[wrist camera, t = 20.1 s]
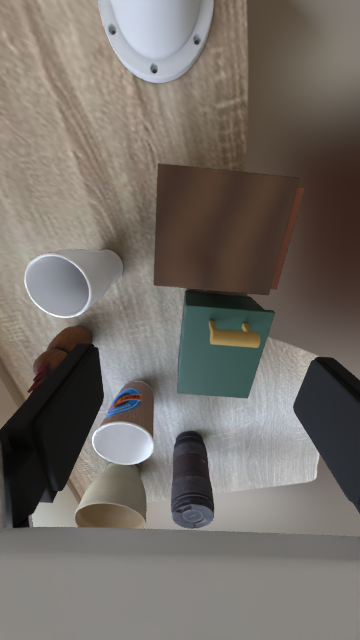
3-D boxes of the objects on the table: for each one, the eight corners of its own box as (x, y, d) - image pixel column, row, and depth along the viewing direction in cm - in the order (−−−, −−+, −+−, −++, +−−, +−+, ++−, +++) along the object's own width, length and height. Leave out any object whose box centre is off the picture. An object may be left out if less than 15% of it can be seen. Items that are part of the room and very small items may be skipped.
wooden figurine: (85, 356, 41) (36, 418, 27) (59, 340, 40) (-7, 397, 26) (102, 333, 39) (59, 387, 25) (75, 315, 37) (13, 363, 24)
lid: (186, 303, 27) (187, 321, 22) (272, 310, 27) (292, 329, 22) (177, 389, 33) (176, 418, 29) (246, 394, 34) (257, 423, 29)
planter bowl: (87, 451, 52) (65, 503, 42) (149, 451, 52) (142, 503, 42) (98, 488, 59) (81, 541, 49) (154, 488, 58) (148, 541, 48)
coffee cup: (149, 368, 42) (138, 416, 31) (168, 403, 46) (163, 457, 35) (105, 381, 43) (79, 432, 32) (127, 415, 47) (110, 470, 36)
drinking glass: (134, 257, 33) (102, 274, 20) (119, 292, 36) (80, 329, 22) (95, 236, 32) (31, 237, 18) (82, 273, 34) (16, 300, 21)
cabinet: (261, 196, 30) (300, 177, 20) (244, 277, 34) (268, 295, 25) (165, 186, 29) (157, 163, 20) (161, 270, 34) (153, 285, 24)
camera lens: (212, 441, 50) (224, 519, 37) (187, 455, 53) (190, 534, 39) (191, 423, 48) (196, 500, 34) (166, 439, 50) (161, 516, 36)
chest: (184, 291, 35) (185, 306, 28) (250, 296, 36) (268, 313, 28) (178, 360, 41) (177, 389, 34) (234, 365, 41) (246, 394, 34)
